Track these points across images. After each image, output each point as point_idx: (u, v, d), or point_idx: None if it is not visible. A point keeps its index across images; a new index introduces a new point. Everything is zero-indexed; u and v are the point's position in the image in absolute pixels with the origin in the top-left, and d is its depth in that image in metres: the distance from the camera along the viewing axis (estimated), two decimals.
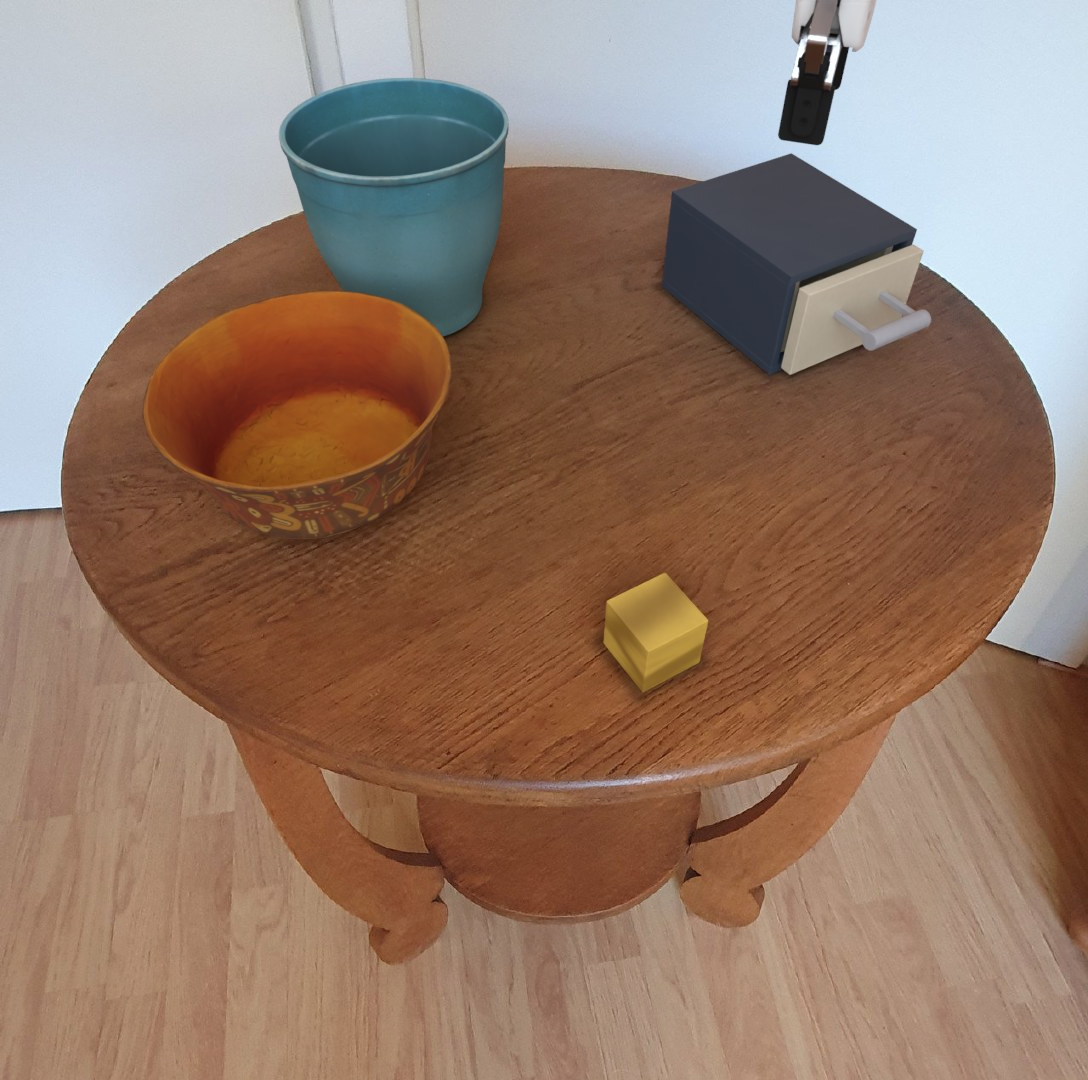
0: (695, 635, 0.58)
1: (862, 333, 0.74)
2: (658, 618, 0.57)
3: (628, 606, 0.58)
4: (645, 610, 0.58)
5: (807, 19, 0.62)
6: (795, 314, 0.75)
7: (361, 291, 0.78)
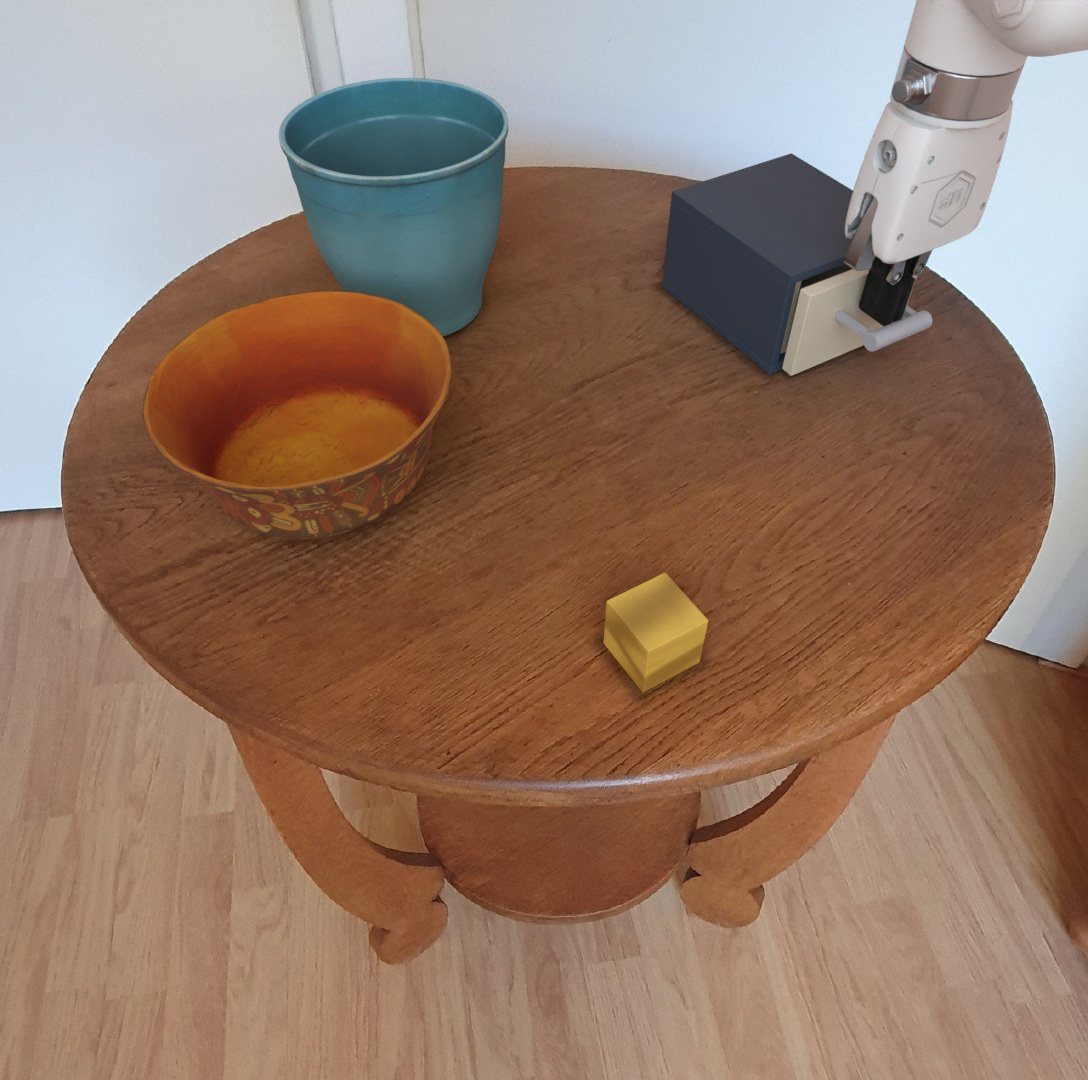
0: (695, 635, 0.58)
1: (863, 334, 0.74)
2: (658, 618, 0.57)
3: (628, 606, 0.58)
4: (645, 610, 0.58)
5: (851, 220, 0.68)
6: (796, 315, 0.75)
7: (361, 291, 0.78)
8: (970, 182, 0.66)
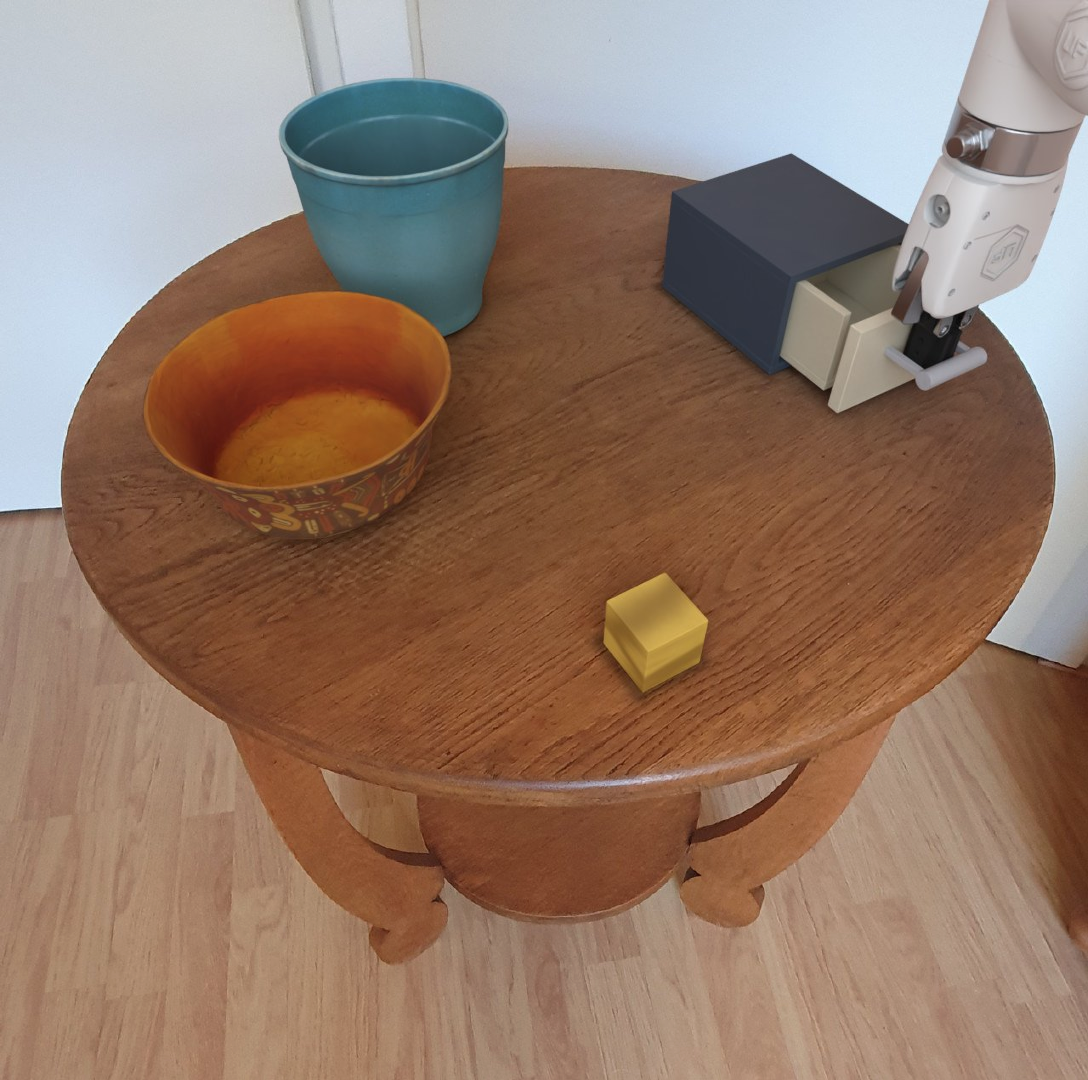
0: (695, 635, 0.58)
1: (916, 372, 0.71)
2: (658, 618, 0.57)
3: (628, 606, 0.58)
4: (645, 610, 0.58)
5: (899, 274, 0.66)
6: (845, 352, 0.72)
7: (361, 291, 0.78)
8: (1023, 236, 0.64)
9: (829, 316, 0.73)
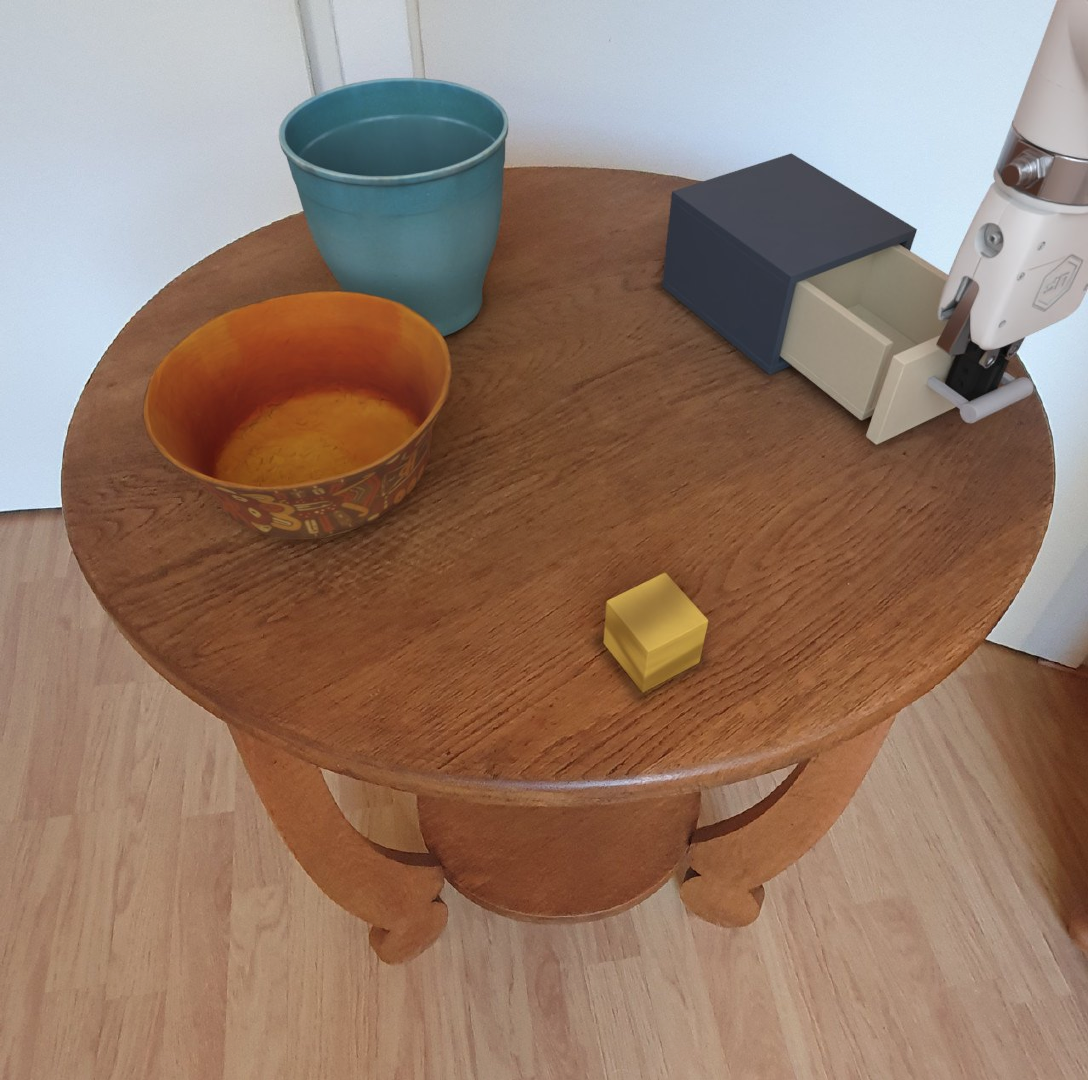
0: (695, 635, 0.58)
1: (960, 404, 0.69)
2: (658, 618, 0.57)
3: (628, 606, 0.58)
4: (645, 610, 0.58)
5: (946, 304, 0.63)
6: (886, 383, 0.69)
7: (361, 291, 0.78)
8: (1077, 265, 0.61)
9: (869, 345, 0.70)
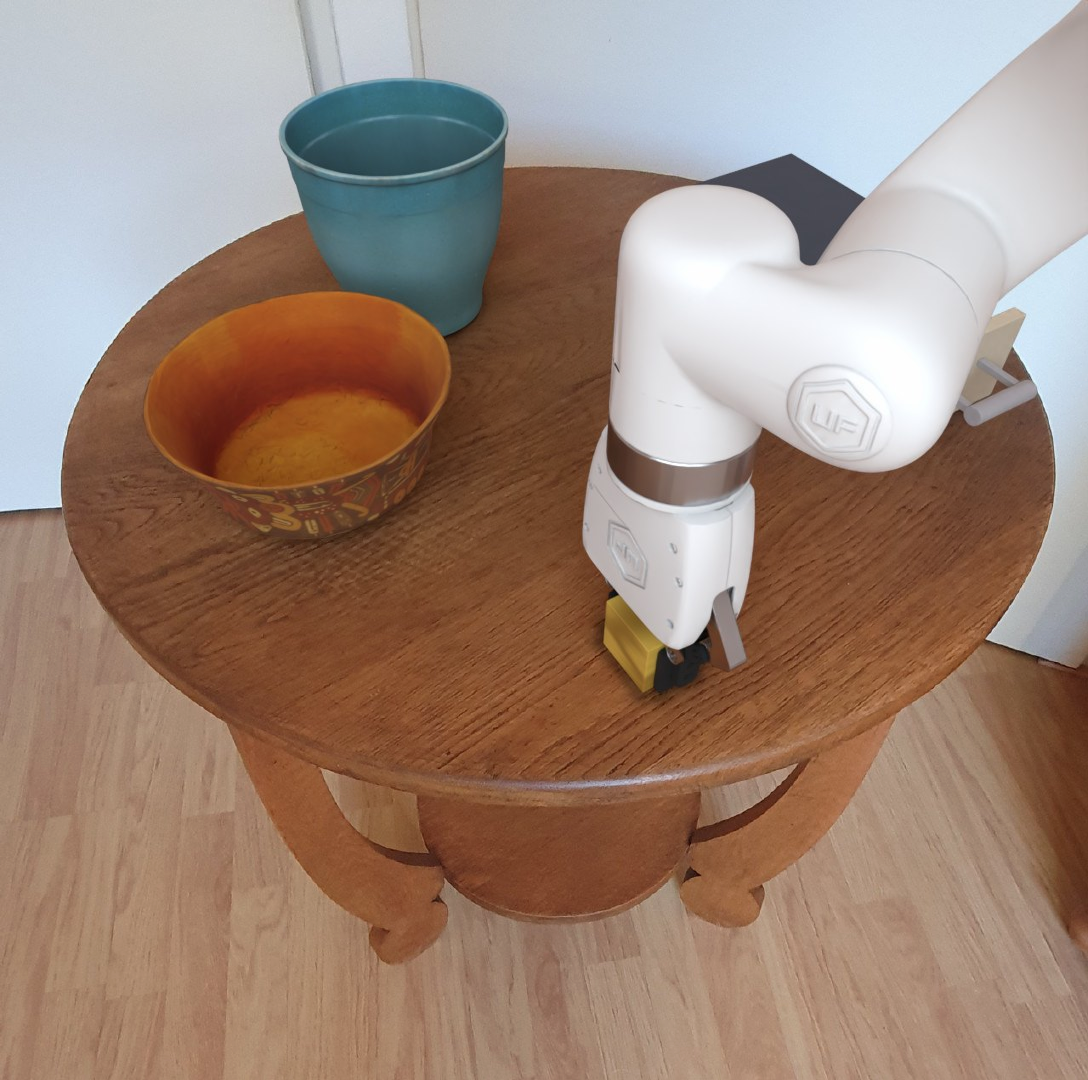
0: None
1: (964, 407, 0.68)
2: None
3: (628, 606, 0.58)
4: None
5: None
6: None
7: (361, 291, 0.78)
8: (642, 560, 0.50)
9: None
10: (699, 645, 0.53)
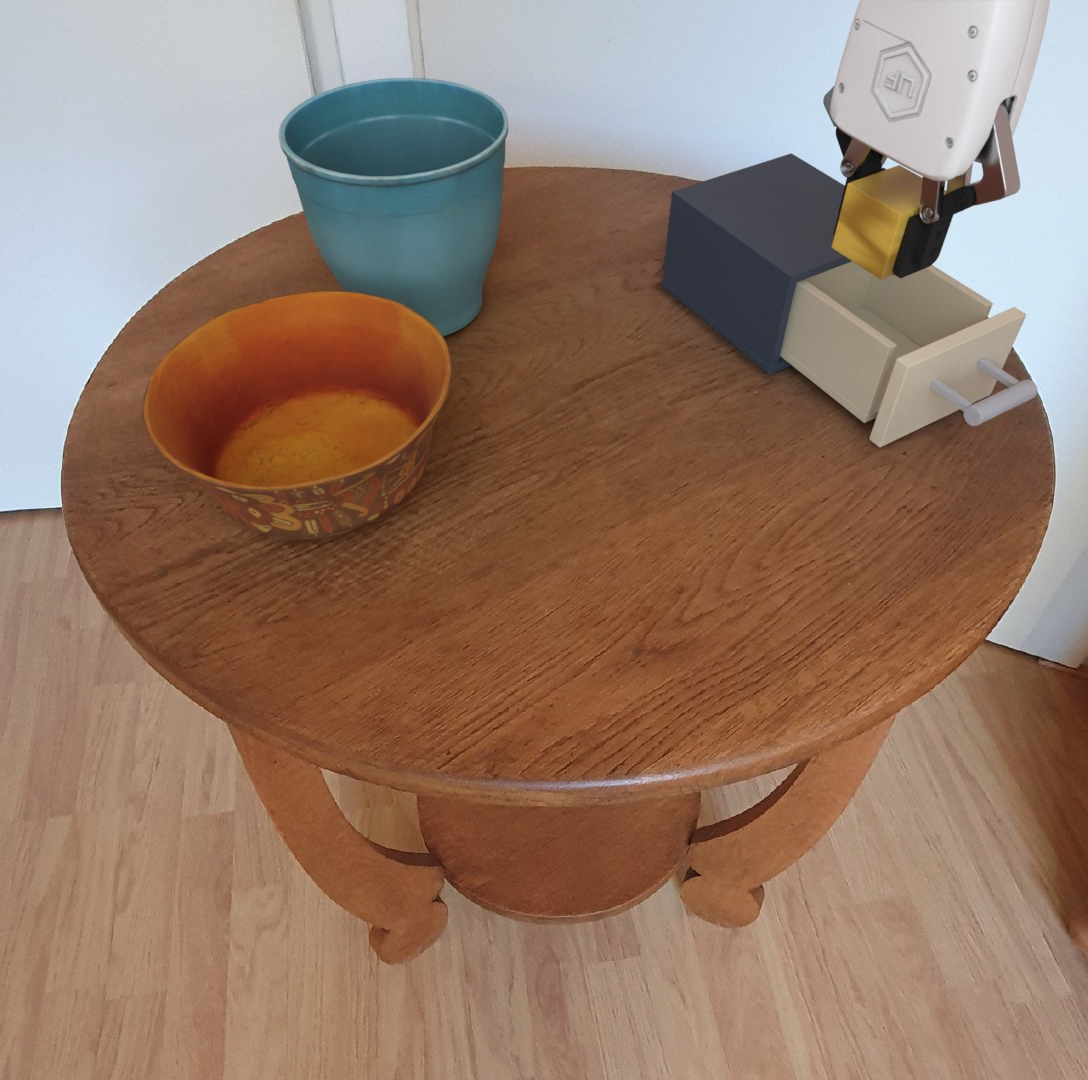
0: None
1: (964, 407, 0.68)
2: (903, 193, 0.58)
3: (870, 186, 0.58)
4: (888, 188, 0.58)
5: None
6: (890, 385, 0.69)
7: (361, 291, 0.78)
8: (923, 76, 0.51)
9: (873, 348, 0.70)
10: (964, 187, 0.54)
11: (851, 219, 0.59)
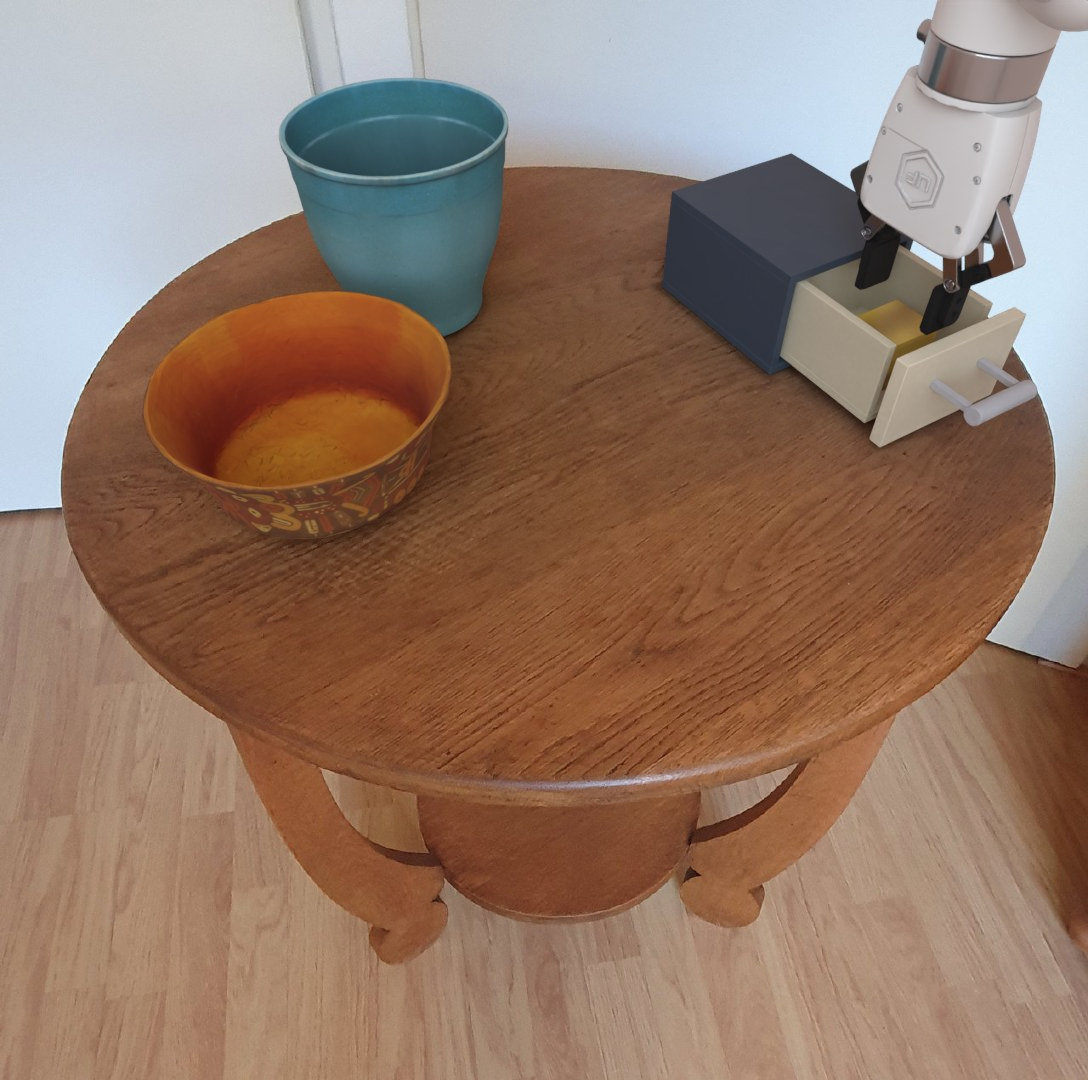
0: (927, 340, 0.74)
1: (964, 407, 0.68)
2: (900, 325, 0.74)
3: (874, 319, 0.75)
4: (888, 321, 0.74)
5: None
6: (890, 385, 0.69)
7: (361, 291, 0.78)
8: (937, 177, 0.63)
9: (873, 348, 0.70)
10: (979, 265, 0.65)
11: None
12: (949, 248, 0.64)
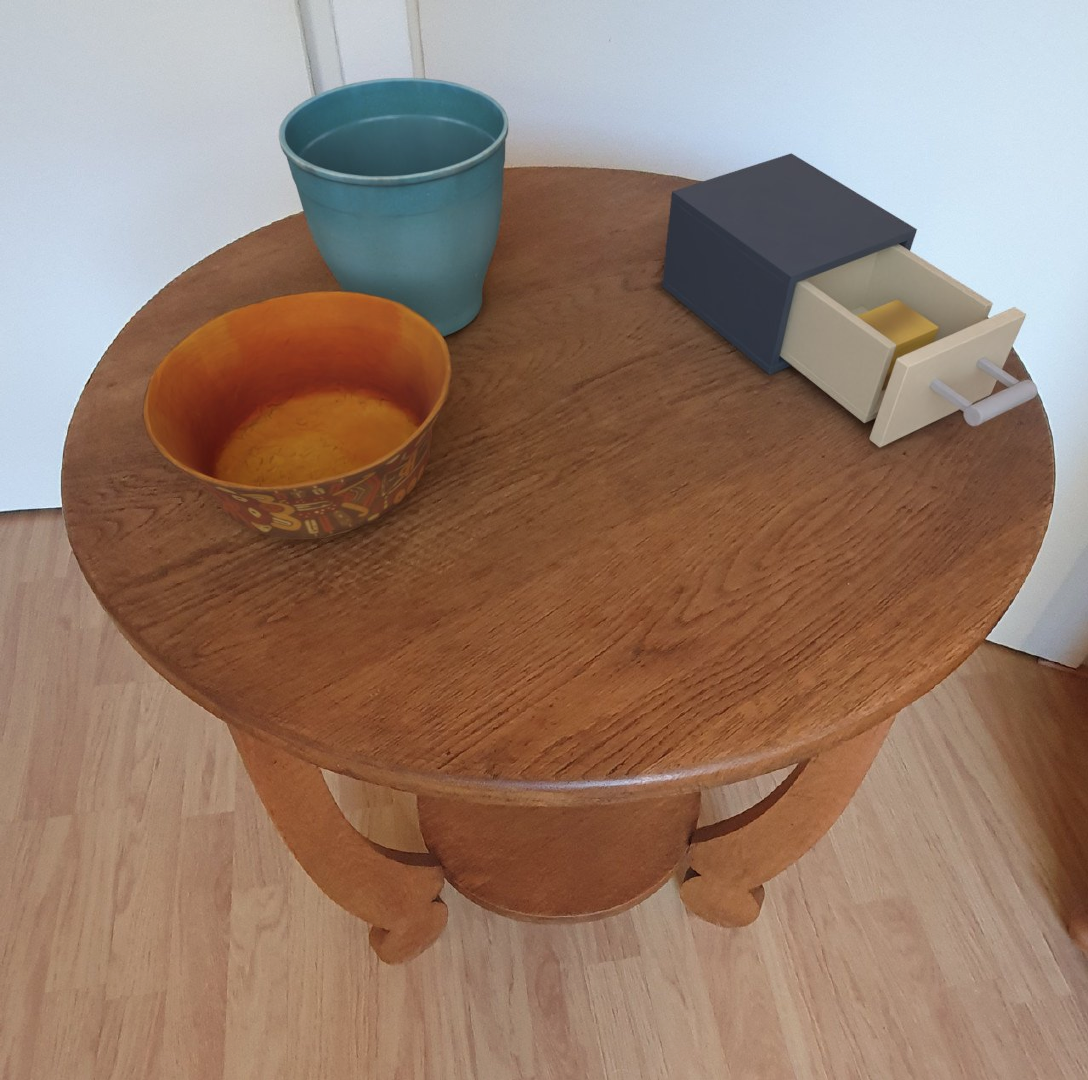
0: (927, 340, 0.74)
1: (964, 407, 0.68)
2: (900, 325, 0.74)
3: (874, 319, 0.75)
4: (888, 321, 0.74)
5: None
6: (890, 385, 0.69)
7: (361, 291, 0.78)
8: None
9: (873, 348, 0.70)
10: None
11: None
12: None
